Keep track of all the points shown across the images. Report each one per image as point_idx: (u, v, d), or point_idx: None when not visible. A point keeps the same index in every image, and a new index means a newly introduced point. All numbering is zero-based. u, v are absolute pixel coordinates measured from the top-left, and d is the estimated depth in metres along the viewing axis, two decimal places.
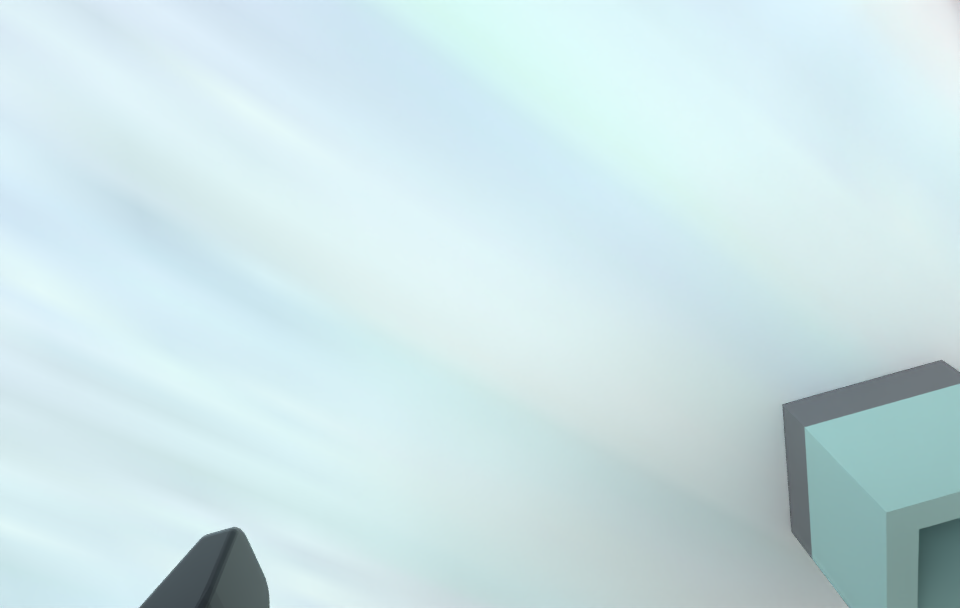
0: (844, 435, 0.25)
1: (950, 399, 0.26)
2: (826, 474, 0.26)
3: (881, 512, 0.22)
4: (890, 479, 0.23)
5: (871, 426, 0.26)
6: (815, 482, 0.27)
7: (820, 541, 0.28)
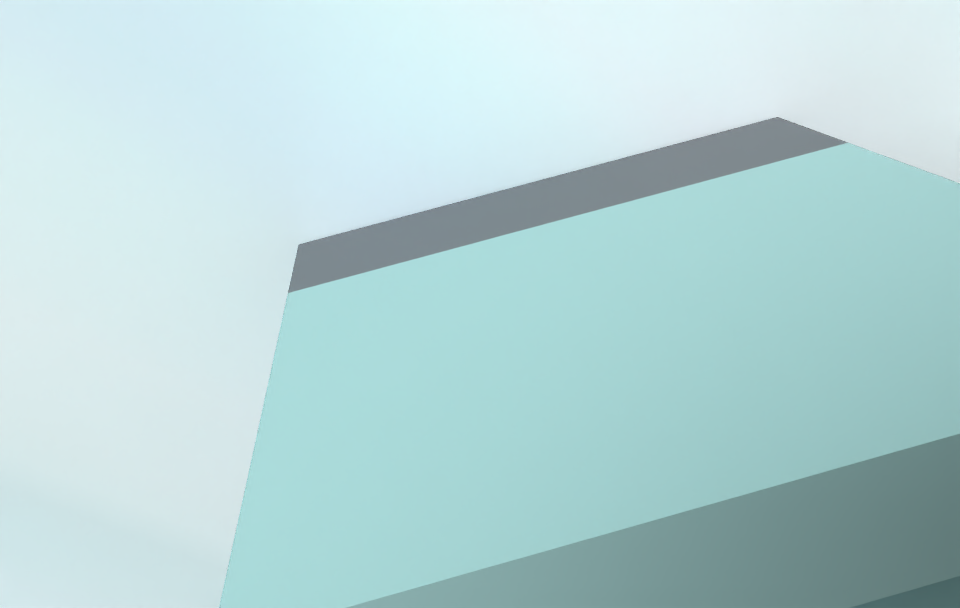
0: (372, 307, 0.07)
1: (764, 189, 0.07)
2: None
3: None
4: (380, 459, 0.05)
5: (474, 276, 0.07)
6: None
7: None
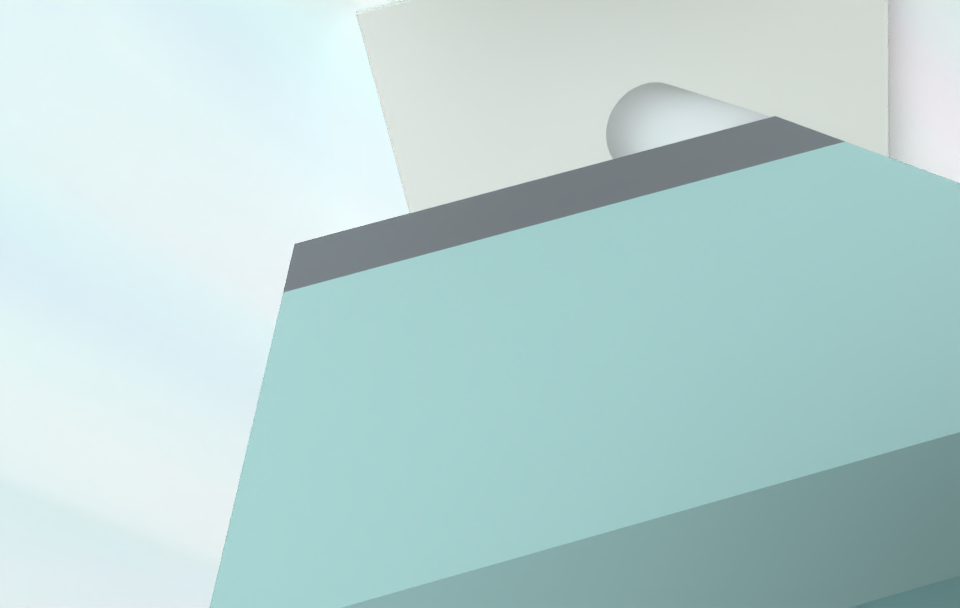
0: (367, 306, 0.07)
1: (761, 188, 0.07)
2: None
3: None
4: (373, 459, 0.05)
5: (470, 275, 0.07)
6: None
7: None
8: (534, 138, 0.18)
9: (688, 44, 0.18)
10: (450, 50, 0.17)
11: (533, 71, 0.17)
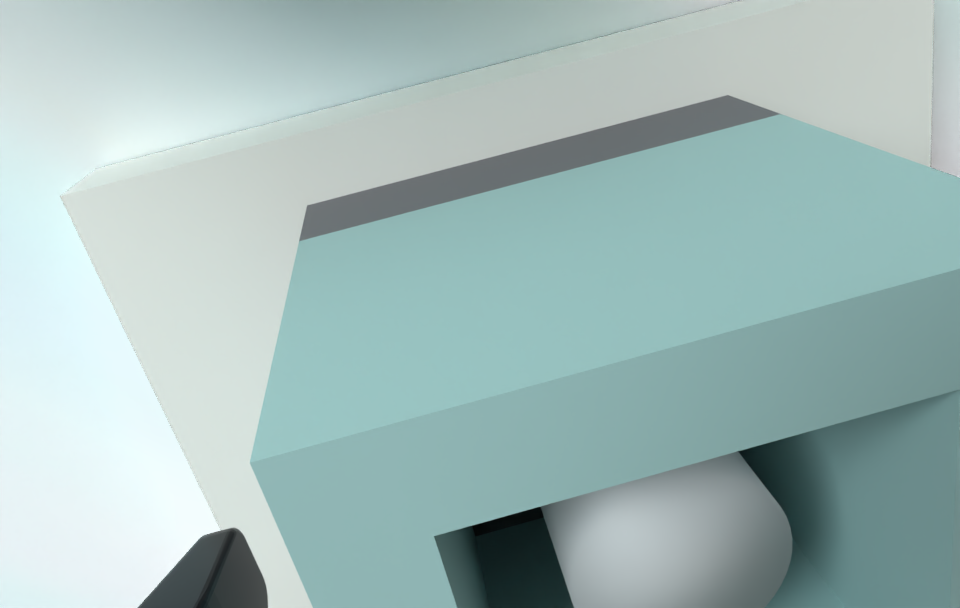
0: (371, 248, 0.08)
1: (705, 151, 0.09)
2: None
3: (263, 464, 0.05)
4: (376, 347, 0.06)
5: (458, 223, 0.08)
6: None
7: None
8: None
9: None
10: (225, 242, 0.11)
11: None
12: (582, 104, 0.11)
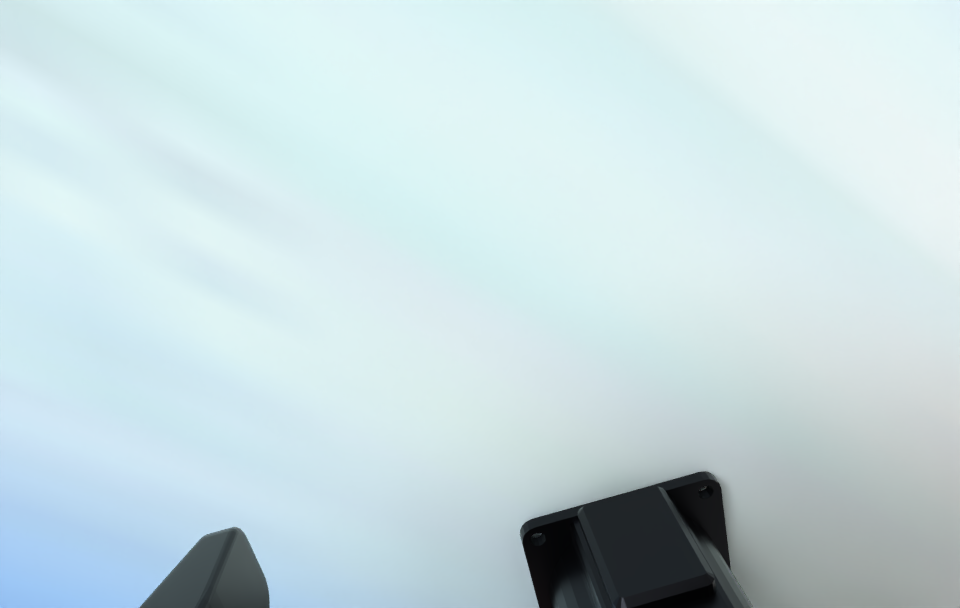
0: None
1: None
2: None
3: None
4: None
5: None
6: None
7: None
8: None
9: None
10: None
11: None
12: None
